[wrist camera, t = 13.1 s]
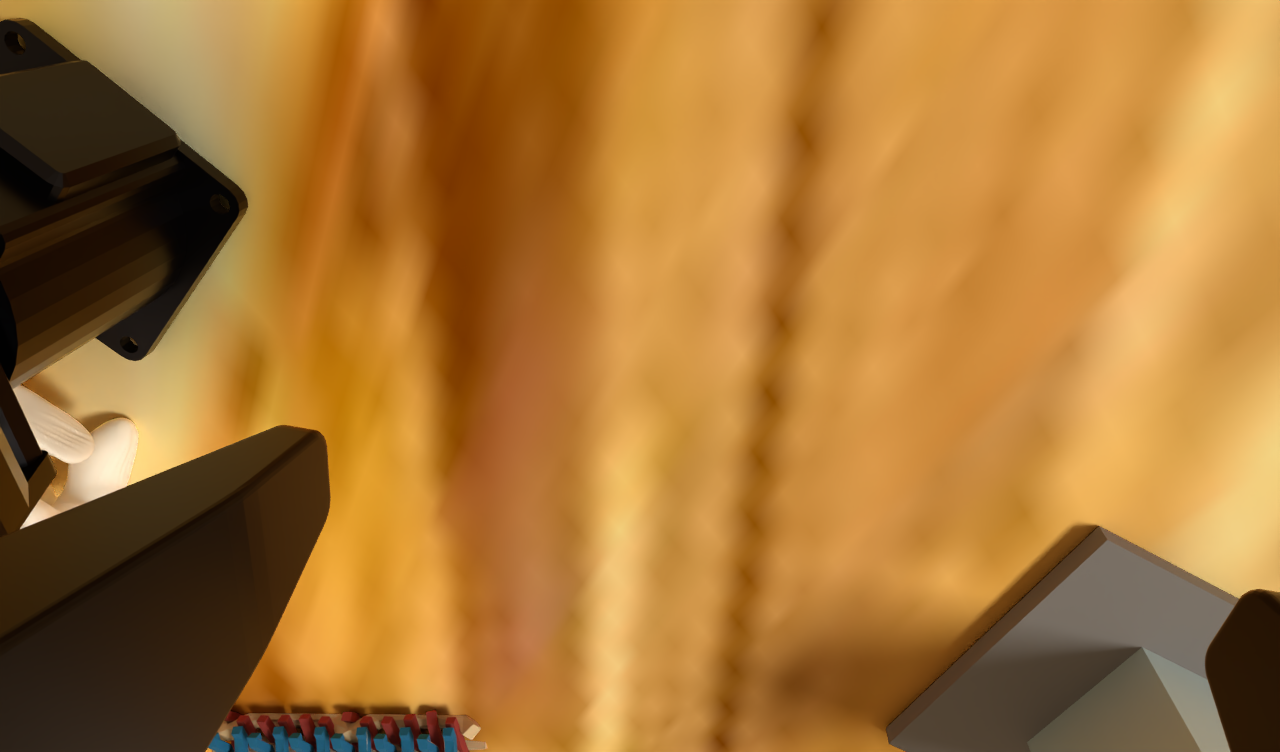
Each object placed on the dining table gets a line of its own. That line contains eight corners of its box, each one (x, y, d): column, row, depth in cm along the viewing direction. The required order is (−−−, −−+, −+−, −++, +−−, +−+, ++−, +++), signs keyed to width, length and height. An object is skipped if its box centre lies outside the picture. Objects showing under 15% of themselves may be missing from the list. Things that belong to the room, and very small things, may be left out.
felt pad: (885, 728, 27) (888, 743, 27) (1098, 526, 23) (1107, 540, 22) (1126, 838, 29) (1133, 856, 28) (1374, 669, 24) (1388, 685, 24)
